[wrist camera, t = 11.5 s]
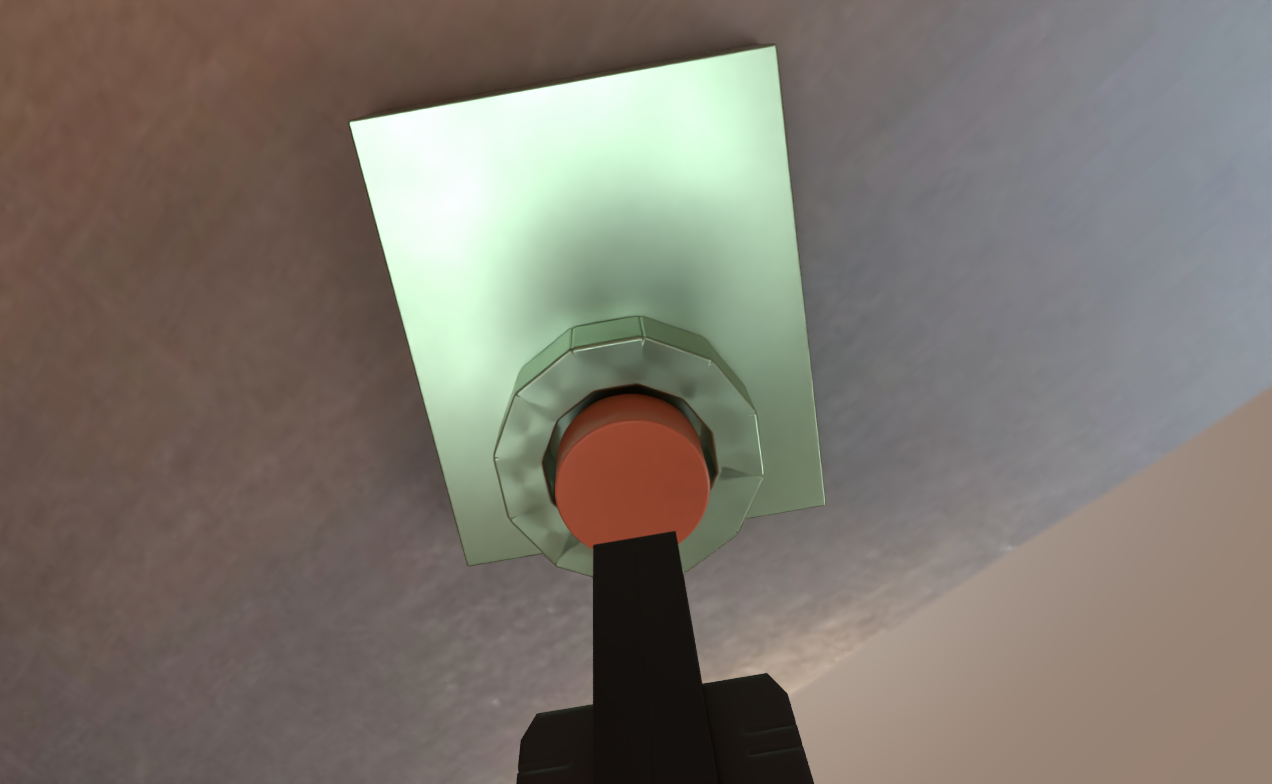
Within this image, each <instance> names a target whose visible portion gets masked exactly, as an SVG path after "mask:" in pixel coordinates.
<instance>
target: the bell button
mask: <svg viewBox="0 0 1272 784" xmlns="http://www.w3.org/2000/svg"><path fill="white" fill-rule="evenodd" d="M709 496H710V478H709V473H708V469H707V465H706V462H705V458H704V454H703V451H702V447H701V444H700V440H699V438H698V435H697V433H696V431H695V429H694V427H693V425H692V424H691V423H690V421H689V420H688V419H687V418H686V417H685V416H684V415H683V414H682V413H681V412H680V411H679V410H678V409H676V408H675V407H674V406H672V405H670V404H669V403H667V402H665V401H663V400H660V399H658V398H655V397H651V396H648V395H641V394H621V395H615V396H611V397H607V398H604V399H602V400H599V401H597V402H595V403H593V404H591V405H590V406H588V407H587V408H585V409H584V410H582V411H581V412H580V413H579V414H578V415H577V416H576V417H575V418H574V419H573V420H572V422H571V423H570V424H569V426H568V427H567V429H566V430H565V432H564V434H563V436H562V439H561V442H560V445H559V449H558V456H557V467H556V479H555V498H556V504H557V508H558V511H559V514H560V516H561V518H562V520H563V522H564V523H565V525H566V527H567V528H568V529H569V531H570V532H571V533H572V534H573V535H574V536H575V537H576V538H577V539H578V540H579V541H580V542H582V543H583V544H585V545H586V546H587V547H589V548H591V549H593V545H595V544H600V543H606V542H612V541H618V540H624V539H630V538H636V537H642V536H648V535H653V534H659V533H665V532H671V531H676V535H677V541H678V544H680V543H681V542H682V541H683V540H685V539H686V538H687V537H688V536H689V535H690V534H691V533H692V532H693V531H694V530H695V528H696V527H697V525H698V524H699V523H700V521H701V519H702V517H703V515H704V513H705V511H706V508H707V505H708V501H709Z"/></svg>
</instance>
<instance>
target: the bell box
mask: <svg viewBox="0 0 1272 784" xmlns="http://www.w3.org/2000/svg"><path fill="white" fill-rule="evenodd" d="M348 125H349V128H350V132H351V136H352V140H353V143H354V147H355V151H356V154H357V158H358V162H359V166H360V169H361V173H362V177H363V180H364V184H365V188H366V192H367V195H368V199H369V203H370V206H371V210H372V214H373V218H374V221H375V225H376V229H377V232H378V236H379V240H380V244H381V247H382V251H383V255H384V258H385V262H386V266H387V270H388V273H389V277H390V281H391V284H392V288H393V292H394V296H395V299H396V303H397V307H398V310H399V314H400V318H401V322H402V325H403V329H404V333H405V337H406V340H407V344H408V348H409V351H410V355H411V359H412V363H413V366H414V370H415V374H416V377H417V381H418V385H419V389H420V392H421V396H422V400H423V403H424V407H425V411H426V415H427V418H428V422H429V426H430V429H431V433H432V437H433V441H434V444H435V448H436V452H437V455H438V459H439V463H440V467H441V470H442V474H443V478H444V481H445V485H446V489H447V493H448V496H449V500H450V504H451V507H452V511H453V515H454V519H455V522H456V526H457V530H458V533H459V537H460V541H461V545H462V548H463V552H464V556H465V559H466V563H467V566H474V565H480V564H486V563H492V562H497V561H503V560H509V559H515V558H521V557H527V556H532V555H538V554H544V555H545V556H546V557H547V558H548V559H549V560H550V561H551V562H552V563H553V564H555V566H556V567H560V568H563V569H566V570H570V571H573V572H577V573H580V574H583V575H587V576H590V577H593V549H591V548H589V547H587V546H586V545H585V544H583V543H582V542H580V541H579V540H578V539H577V538H576V537H575V536H574V535H573V534H572V533H571V532H570V531H569V529H568V528H567V527H566V525H565V523H564V522H563V520H562V518H561V516H560V514H559V511H558V508H557V504H556V498H555V479H556V467H557V456H558V449H559V445H560V442H561V439H562V436H563V434H564V432H565V430H566V429H567V427H568V426H569V424H570V423H571V422H572V420H573V419H574V418H575V417H576V416H577V415H578V414H579V413H580V412H581V411H582V410H584V409H585V408H587V407H588V406H590V405H591V404H593V403H595V402H597V401H599V400H602V399H604V398H607V397H611V396H615V395H621V394H641V395H648V396H651V397H655V398H658V399H660V400H663V401H665V402H667V403H669V404H670V405H672V406H674V407H675V408H676V409H678V410H679V411H680V412H681V413H682V414H683V415H684V416H685V417H686V418H687V419H688V420H689V421H690V423H691V424H692V425H693V427H694V429H695V431H696V433H697V435H698V438H699V440H700V444H701V447H702V451H703V454H704V458H705V462H706V465H707V469H708V473H709V478H710V496H709V501H708V505H707V508H706V511H705V513H704V515H703V517H702V519H701V521H700V523H699V524H698V525H697V527H696V528H695V530H694V531H693V532H692V533H691V534H690V535H689V536H688V537H687V538H686V539H685V540H683V541H682V542H681V543H680V544H678V546H679V552H680V558H681V564H682V569H683V573H684V572H687V571H689V570H690V569H691V568H693V567H694V566H696V565H697V564H698V563H700V562H701V561H702V560H704V559H705V558H706V557H708V556H709V555H711V554H712V553H713V552H715V551H716V550H717V549H719V548H720V547H721V546H723V545H724V544H726V543H727V542H728V541H730V540H731V539H732V538H734V537H735V536H736V535H737V533H738V532H739V531H740V529H741V527H742V524H743V522H744V520H745V519H748V518H754V517H760V516H766V515H772V514H777V513H783V512H789V511H795V510H801V509H807V508H812V507H818V506H824V505H826V499H825V489H824V480H823V470H822V461H821V452H820V442H819V433H818V424H817V414H816V405H815V396H814V386H813V377H812V368H811V358H810V349H809V340H808V330H807V321H806V311H805V302H804V293H803V283H802V274H801V265H800V255H799V246H798V237H797V227H796V218H795V209H794V199H793V190H792V181H791V171H790V162H789V152H788V143H787V134H786V124H785V115H784V106H783V96H782V87H781V78H780V68H779V59H778V50H777V45H776V44H754V45H749V46H743V47H738V48H732V49H727V50H721V51H715V52H710V53H704V54H699V55H693V56H688V57H682V58H677V59H671V60H665V61H660V62H654V63H649V64H643V65H638V66H632V67H626V68H621V69H615V70H610V71H604V72H599V73H593V74H588V75H582V76H576V77H571V78H565V79H560V80H554V81H549V82H543V83H537V84H532V85H526V86H521V87H515V88H510V89H504V90H499V91H493V92H487V93H482V94H476V95H471V96H465V97H460V98H454V99H448V100H443V101H437V102H432V103H426V104H421V105H415V106H410V107H404V108H398V109H393V110H387V111H382V112H376V113H371V114H367V115H364V116H361V117H358V118H355V119H351V120H349V121H348Z"/></svg>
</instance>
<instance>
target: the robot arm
mask: <svg viewBox="0 0 1272 784" xmlns="http://www.w3.org/2000/svg"><path fill="white" fill-rule="evenodd" d="M518 771H519V773H517V783H516V784H814V782H813V778H812V775H811V772H810V768H809V765H808V761H807V758H806V755H805V751H804V748H803V746H802V742H801V738H800V735H799V731H798V728H797V725H796V722H795V717H794V714H793V711H792V708H791V704H790V701H789V697H788V694H787V693H786V692H785V691H784V690H783V689H782V688H781V687H780V686H779V685H778V684H777V683H776V682H775V681H774V680H773V679H772V678H771V677H770V676H769V675H768V674H767V673H764V674H758V675H752V676H746V677H740V678H734V679H728V680H722V681H716V682H710V683H704V684H702V679H701V673H700V667H699V662H698V656H697V650H696V644H695V638H694V633H693V627H692V621H691V615H690V610H689V604H688V598H687V592H686V587H685V581H684V575H683V569H682V564H681V558H680V552H679V546H678V541H677V535H676V531H671V532H665V533H659V534H653V535H648V536H642V537H636V538H630V539H624V540H618V541H612V542H606V543H600V544H595V545H593V704H592V705H586V706H580V707H574V708H568V709H562V710H556V711H550V712H544V713H538V714H536V716H535V718H534V719H533V721H532V723H531V724H530V726H529V727H528V729H527V731H526V732H525V734H524V736H523V737H522V739H521V744H520V754H519V763H518Z"/></svg>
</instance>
